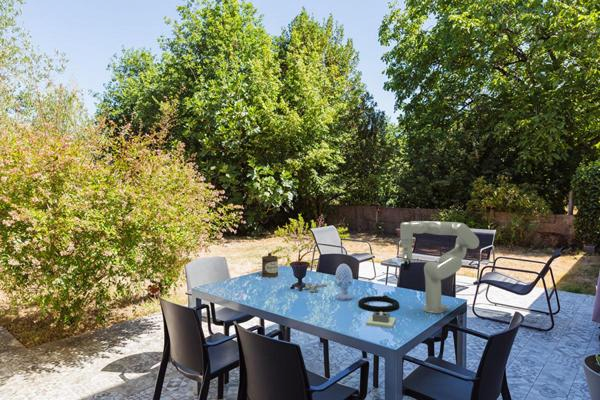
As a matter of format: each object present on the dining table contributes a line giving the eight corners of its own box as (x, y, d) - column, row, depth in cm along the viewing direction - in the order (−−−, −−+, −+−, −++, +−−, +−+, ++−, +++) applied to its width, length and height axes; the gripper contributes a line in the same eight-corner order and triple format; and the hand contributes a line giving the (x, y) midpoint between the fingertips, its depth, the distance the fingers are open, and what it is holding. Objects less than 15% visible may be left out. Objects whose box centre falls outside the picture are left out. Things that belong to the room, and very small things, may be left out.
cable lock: (351, 303, 249) (367, 292, 275) (351, 309, 249) (367, 297, 275) (392, 309, 235) (405, 297, 261) (392, 315, 235) (405, 302, 261)
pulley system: (298, 292, 295) (316, 293, 288) (298, 286, 295) (316, 287, 289) (312, 286, 320) (328, 286, 313) (312, 280, 320) (328, 281, 314)
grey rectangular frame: (389, 319, 222) (389, 313, 222) (388, 322, 217) (388, 316, 217) (374, 317, 226) (374, 311, 226) (372, 320, 220) (372, 314, 220)
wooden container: (267, 278, 343) (266, 254, 342) (259, 275, 355) (259, 252, 355) (280, 276, 351) (280, 252, 350) (273, 273, 363) (272, 251, 363)
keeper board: (395, 320, 225) (395, 309, 225) (392, 328, 212) (392, 316, 212) (371, 317, 230) (370, 307, 230) (366, 325, 217) (365, 314, 217)
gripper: (411, 243, 228) (411, 271, 229) (414, 240, 244) (414, 266, 245) (398, 243, 231) (399, 270, 231) (402, 239, 247) (402, 265, 247)
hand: (407, 268), depth 238 cm, fingers open, 9 cm apart
